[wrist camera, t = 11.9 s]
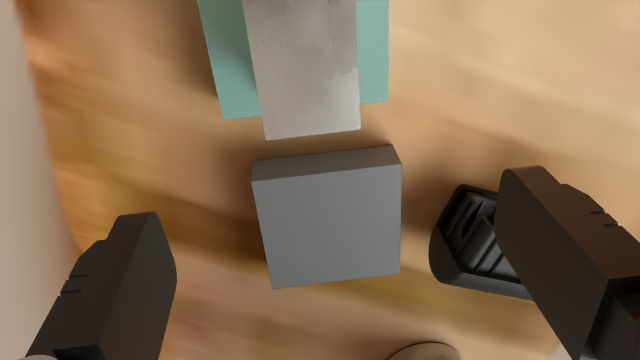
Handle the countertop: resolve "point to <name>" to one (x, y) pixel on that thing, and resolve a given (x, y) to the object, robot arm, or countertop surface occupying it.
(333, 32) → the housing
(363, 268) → the stand
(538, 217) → the robot arm
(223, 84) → the stand
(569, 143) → the countertop surface
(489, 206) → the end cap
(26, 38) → the countertop surface
